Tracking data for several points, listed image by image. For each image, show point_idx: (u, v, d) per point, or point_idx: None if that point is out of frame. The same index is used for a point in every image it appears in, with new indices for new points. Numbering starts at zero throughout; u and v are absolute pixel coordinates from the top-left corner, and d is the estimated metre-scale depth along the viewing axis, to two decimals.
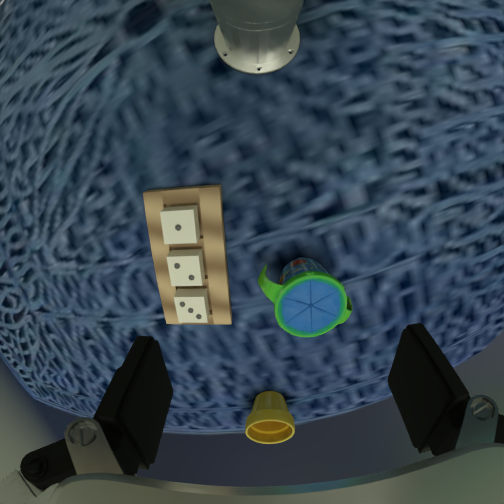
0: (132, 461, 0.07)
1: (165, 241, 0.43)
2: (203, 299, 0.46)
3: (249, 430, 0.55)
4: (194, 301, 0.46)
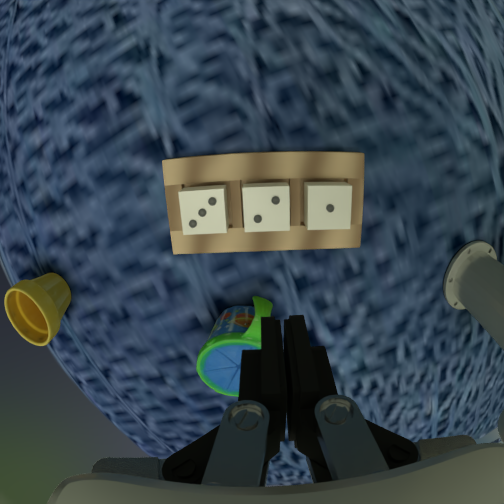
0: (279, 439, 0.08)
1: (311, 187, 0.31)
2: (222, 231, 0.33)
3: None
4: (218, 219, 0.32)
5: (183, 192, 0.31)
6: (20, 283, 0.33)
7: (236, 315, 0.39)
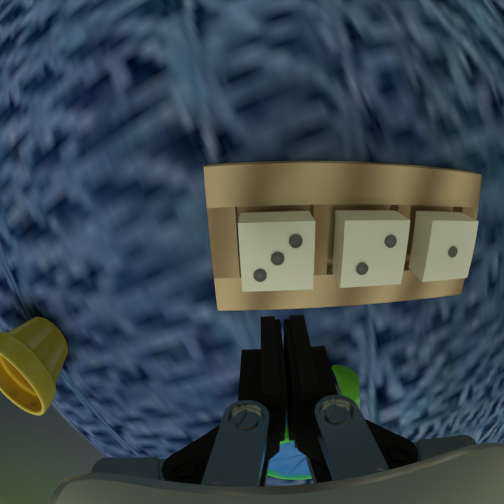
0: (279, 439, 0.08)
1: (436, 223, 0.18)
2: (305, 287, 0.21)
3: None
4: (302, 269, 0.20)
5: (246, 224, 0.19)
6: None
7: None
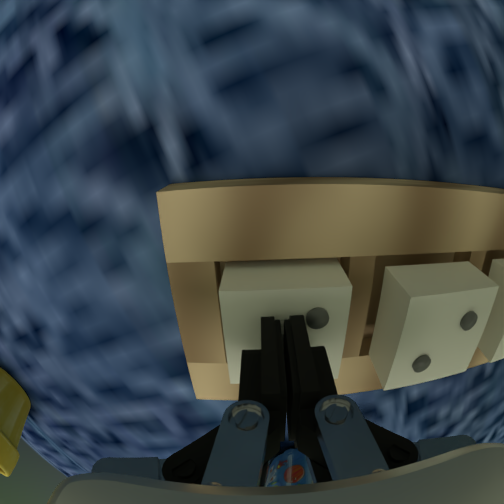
0: (279, 439, 0.08)
1: None
2: None
3: None
4: None
5: (234, 293, 0.11)
6: None
7: None
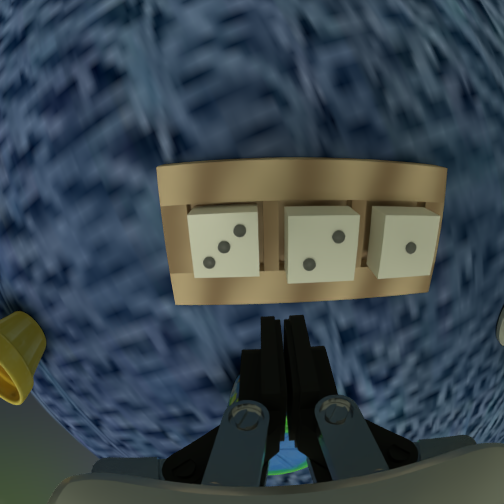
0: (279, 439, 0.08)
1: (390, 218, 0.19)
2: (252, 274, 0.23)
3: None
4: (247, 256, 0.22)
5: (195, 216, 0.21)
6: None
7: None
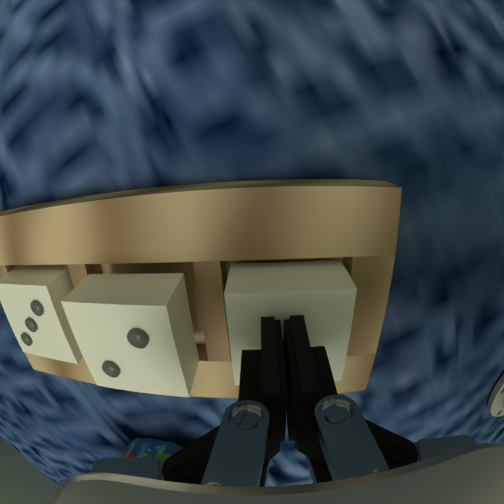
0: (279, 439, 0.08)
1: (236, 298, 0.11)
2: (70, 360, 0.14)
3: None
4: (56, 339, 0.13)
5: None
6: None
7: None
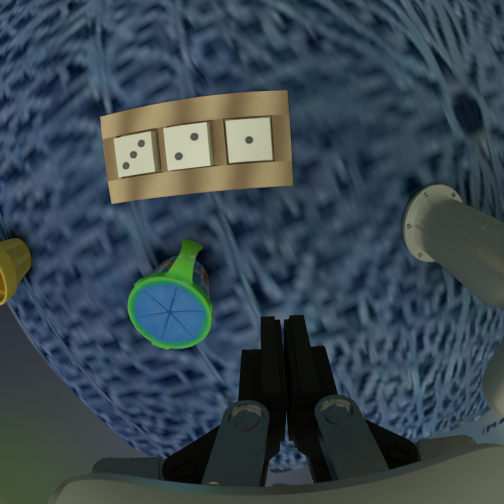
0: (279, 439, 0.08)
1: (229, 122, 0.31)
2: (151, 171, 0.33)
3: None
4: (147, 159, 0.33)
5: (117, 138, 0.32)
6: None
7: (170, 261, 0.38)
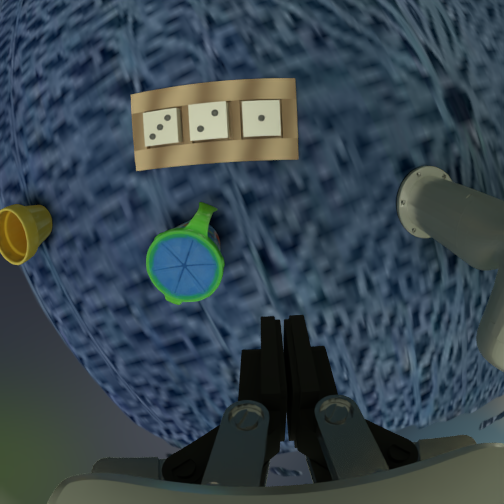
0: (279, 439, 0.08)
1: (245, 102, 0.36)
2: (174, 141, 0.38)
3: (6, 211, 0.37)
4: (171, 131, 0.37)
5: (146, 113, 0.36)
6: (9, 206, 0.37)
7: (187, 223, 0.42)
